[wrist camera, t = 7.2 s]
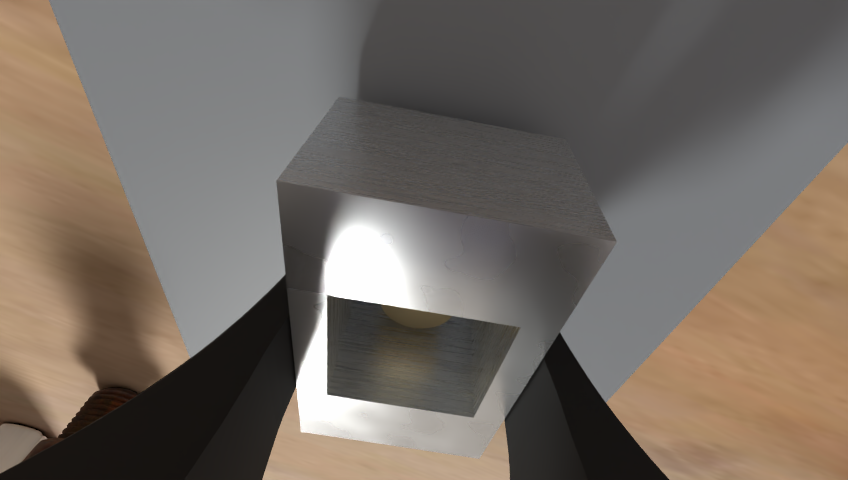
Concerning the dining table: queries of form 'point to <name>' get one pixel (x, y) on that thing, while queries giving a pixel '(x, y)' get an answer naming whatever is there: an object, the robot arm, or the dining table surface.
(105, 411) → the bolt
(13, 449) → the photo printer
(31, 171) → the dining table surface
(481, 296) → the block with square hole
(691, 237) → the pin board
